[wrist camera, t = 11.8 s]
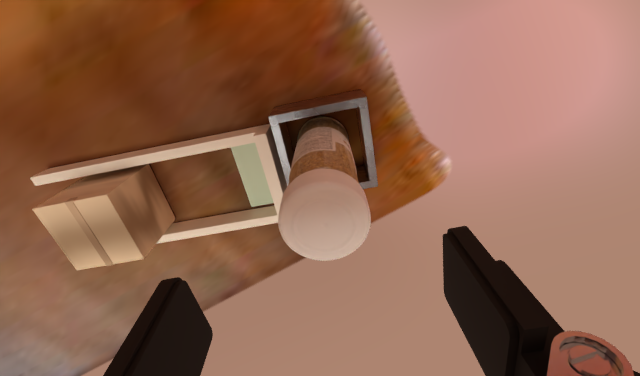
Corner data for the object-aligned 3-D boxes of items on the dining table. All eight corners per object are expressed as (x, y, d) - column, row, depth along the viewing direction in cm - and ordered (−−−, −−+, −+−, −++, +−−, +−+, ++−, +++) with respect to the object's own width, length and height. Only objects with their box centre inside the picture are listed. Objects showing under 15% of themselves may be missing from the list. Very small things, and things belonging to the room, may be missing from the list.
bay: (48, 168, 28) (19, 182, 25) (271, 123, 26) (265, 133, 23) (97, 243, 31) (76, 263, 29) (294, 208, 29) (292, 226, 27)
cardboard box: (87, 175, 28) (30, 208, 22) (148, 162, 27) (105, 194, 22) (119, 229, 30) (76, 271, 25) (175, 219, 30) (144, 259, 24)
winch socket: (274, 106, 25) (268, 116, 22) (360, 88, 24) (366, 96, 21) (294, 183, 28) (291, 201, 25) (371, 169, 28) (378, 186, 24)
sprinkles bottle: (352, 159, 27) (378, 256, 15) (303, 168, 28) (290, 271, 16) (343, 108, 25) (365, 175, 13) (290, 120, 26) (264, 195, 14)
